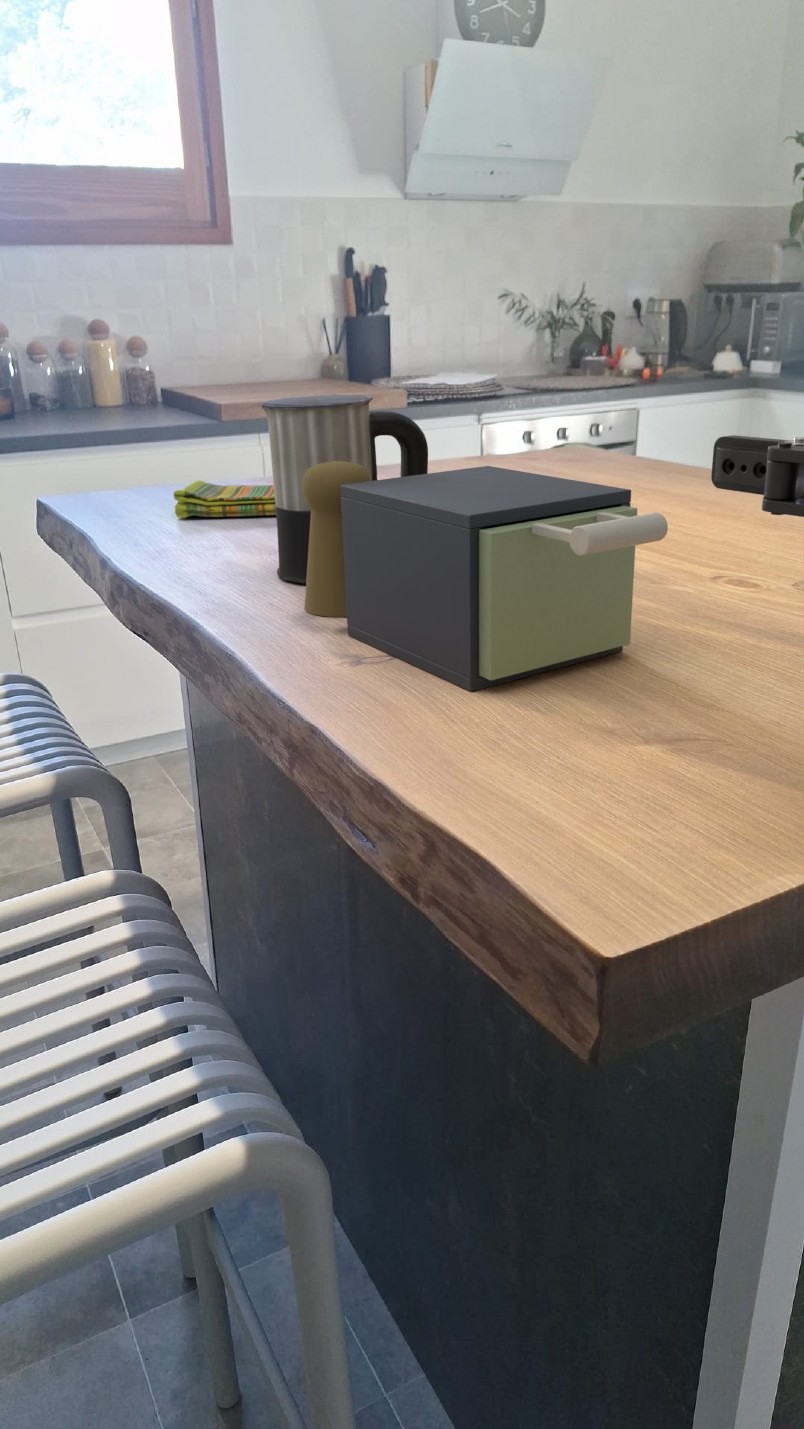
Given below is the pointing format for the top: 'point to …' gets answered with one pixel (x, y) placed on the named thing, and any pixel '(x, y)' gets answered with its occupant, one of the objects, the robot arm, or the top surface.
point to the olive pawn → (327, 535)
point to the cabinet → (441, 559)
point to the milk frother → (327, 457)
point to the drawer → (558, 586)
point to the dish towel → (224, 500)
